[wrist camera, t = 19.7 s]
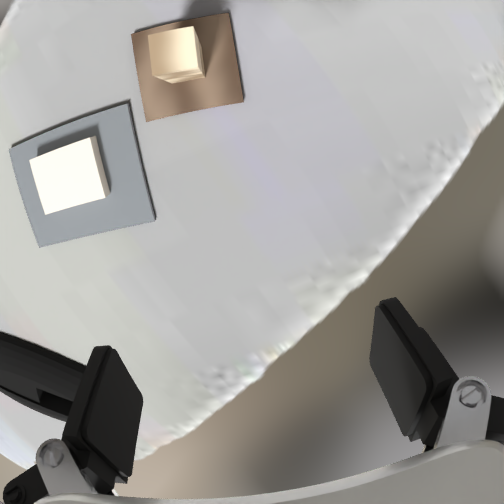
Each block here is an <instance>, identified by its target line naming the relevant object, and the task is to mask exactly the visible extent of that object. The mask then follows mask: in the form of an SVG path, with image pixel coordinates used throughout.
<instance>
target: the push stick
mask: <svg viewBox="0 0 504 504" xmlns="http://www.w3.org/2000/svg"><path fill="white" fill-rule="evenodd" d="M148 41H149V51H150V60H151V68H152V76H154V77H157V78H160V79H162V80H165V81H167V82H170V83H177V82H182V81H188V80H194V79H200V78H205V71H204V63H203V54H202V47H201V44H200V42H199V39H198V37H197V34H196V32H195V29H194V27H193V26H191V27H185V28H180V29H174V30H169V31H164V32H160V33H155V34H151V35H148Z"/></svg>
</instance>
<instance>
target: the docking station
mask: <svg viewBox="0 0 504 504" xmlns="http://www.w3.org/2000/svg"><path fill="white" fill-rule="evenodd" d="M85 368H86V367H85V366H83V365H81V364H79V363H76V362H74V361H72V360H69V359H67V358H65V357H63V356H61V355H58V354H56V353H53V352H51V351H48V350H46V349H44V348H41V347H39V346H37V345H34V344H31V343H29V342H26V341H23V340H21V339H18V338H16V337H13V336H9V335H6V334H3V333H0V391H1V392H2V393H4V394H5V395H7V396H9V397H10V398H12V399H14V400H15V401H17V402H19V403H21V404H23V405H25V406H27V407H29V408H31V409H33V410H35V411H38V412H40V413H42V414H45V415H47V416H50V417H53V418H56V419H58V420H62V421H65V422H66V421H67V418H68V415H69V412H70V409H71V407H72V404H73V401H74V398H75V395H76V392H77V390H78V387H79V384H80V382H81V379H82V376H83V374H84V371H85Z"/></svg>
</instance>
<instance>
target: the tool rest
mask: <svg viewBox="0 0 504 504" xmlns="http://www.w3.org/2000/svg"><path fill="white" fill-rule="evenodd" d="M191 26H193V27H194V29H195V32H196V34H197V37H198V39H199V42H200V44H201V47H202V54H203V63H204V71H205V78H200V79H194V80H188V81H182V82H177V83H170V82H167V81H165V80H162V79H160V78H157V77H154V76H152V68H151V60H150V51H149V41H148V35H151V34H155V33H160V32H164V31H169V30H174V29H180V28H185V27H191ZM131 36H132V43H133V50H134V56H135V63H136V69H137V75H138V81H139V86H140V92H141V97H142V103H143V108H144V113H145V118H146V122H149V121H152V120H156V119H161V118H165V117H169V116H173V115H178V114H182V113H187V112H192V111H196V110H201V109H207V108H212V107H217V106H223V105H229V104H235V103H241V102H244V101H243V95H242V89H241V82H240V76H239V70H238V64H237V58H236V52H235V47H234V41H233V35H232V29H231V23H230V17H229V13H223V14H216V15H210V16H204V17H199V18H194V19H189V20H184V21H179V22H175V23H171V24H166V25H162V26H158V27H155V28H151V29H147V30H144V31H140V32H137V33H133V34H131Z"/></svg>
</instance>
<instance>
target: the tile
mask: <svg viewBox="0 0 504 504" xmlns="http://www.w3.org/2000/svg"><path fill="white" fill-rule="evenodd" d="M29 161H30V165H31V169H32V173H33V176H34V180H35V183H36V187H37V190H38V193H39V197H40V200H41V203H42V206H43V209H44V212H45V215H46V214H49V213H53V212H56V211H59V210H63V209H66V208H70V207H73V206H77V205H80V204H84V203H88V202H91V201H95V200H99V199H103V198H106V197H107V196H108V195H109V194H110V190H109V187H108V183H107V179H106V176H105V172H104V168H103V164H102V160H101V156H100V152H99V147H98V143H97V139H96V136H93V137H90V138H87V139H84V140H81V141H78V142H75V143H72V144H69V145H67V146H64V147H61V148H59V149H56V150H53V151H51V152H48V153H46V154H43V155H41V156H38V157H36V158H33V159H31V160H29Z"/></svg>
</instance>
